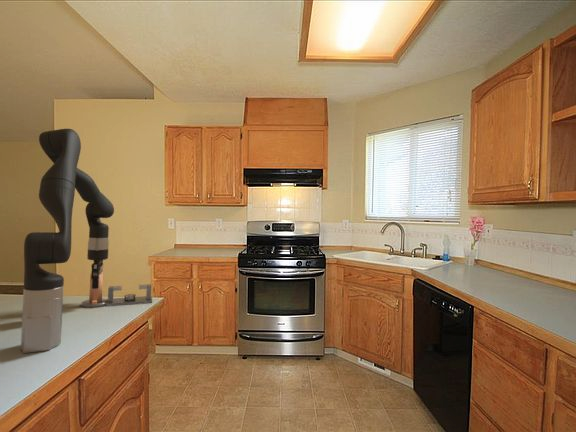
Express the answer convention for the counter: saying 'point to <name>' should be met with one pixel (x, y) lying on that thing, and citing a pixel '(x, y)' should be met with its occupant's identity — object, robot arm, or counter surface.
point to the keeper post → (128, 296)
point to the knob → (96, 291)
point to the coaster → (89, 305)
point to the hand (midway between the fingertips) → (96, 286)
